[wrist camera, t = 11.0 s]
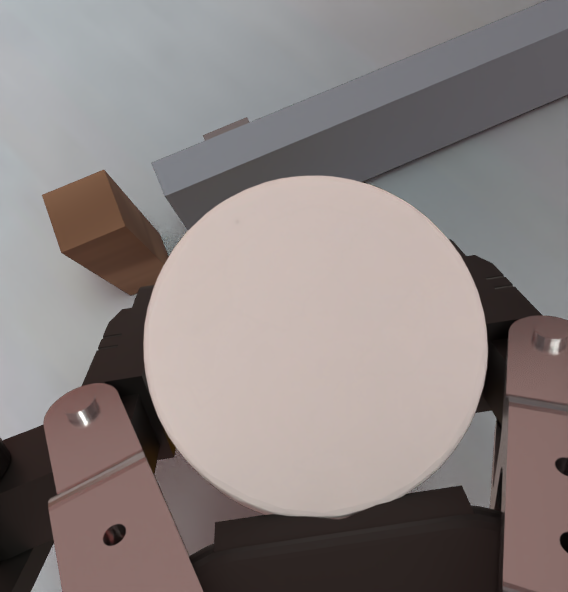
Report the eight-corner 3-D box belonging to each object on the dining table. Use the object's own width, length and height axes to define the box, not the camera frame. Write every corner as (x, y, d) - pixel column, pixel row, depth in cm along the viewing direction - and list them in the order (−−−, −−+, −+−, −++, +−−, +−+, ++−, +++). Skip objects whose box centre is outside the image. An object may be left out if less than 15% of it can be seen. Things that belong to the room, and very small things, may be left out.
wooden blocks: (113, 248, 20) (-167, 22, 8) (748, -18, 21) (1293, -537, 9) (132, 300, 19) (-139, 138, 7) (781, 23, 21) (1402, -473, 9)
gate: (182, 203, 19) (140, 135, 15) (636, 13, 20) (740, -109, 16) (201, 249, 19) (164, 196, 14) (665, 53, 20) (782, -61, 15)
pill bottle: (227, 292, 18) (107, 121, 7) (392, 294, 18) (529, 118, 7) (218, 465, 16) (55, 579, 6) (397, 470, 16) (581, 600, 5)
